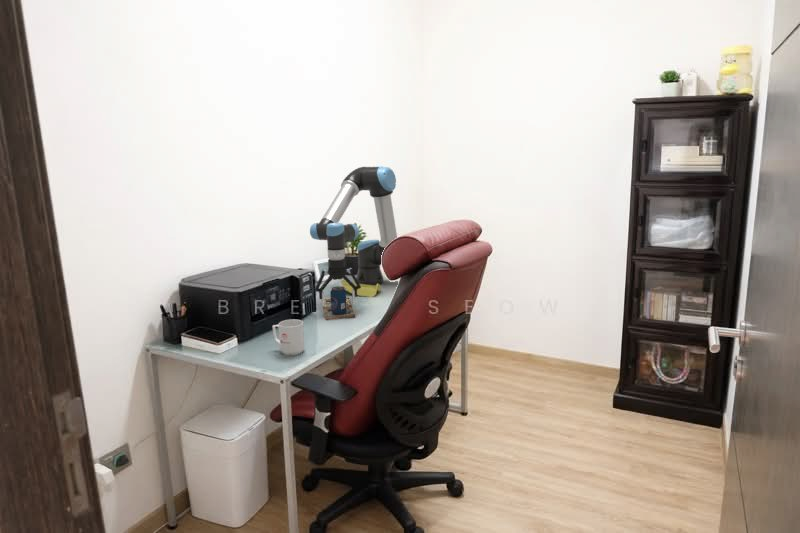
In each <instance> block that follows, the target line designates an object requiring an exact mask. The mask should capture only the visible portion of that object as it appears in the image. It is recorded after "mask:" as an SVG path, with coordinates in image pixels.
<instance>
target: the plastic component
mask: <svg viewBox="0 0 800 533" xmlns="http://www.w3.org/2000/svg"><path fill="white" fill-rule="evenodd" d="M340 281H341V282H340V283H341V285H342V287H344V289H345V291H346V293H350V294H352V289H353V288H352V287H351V286H350V285H349V284H348V282H347V281H346V280H344V279H343V278H342V279H340ZM352 283H353V284H354V285H355V286H357V285H356V283H355V282H352ZM360 286H361V288H360V289H357V296H360V297H366V296H367V297H368V298H374V297H375V296H376V295H377V293H380V292H381V287H382V284H377V285H365V284H360Z"/></svg>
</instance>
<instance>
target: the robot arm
mask: <svg viewBox="0 0 800 533" xmlns="http://www.w3.org/2000/svg"><path fill="white" fill-rule="evenodd" d="M395 174H396V173H395V172H394V170H393V169H392V168H390V167H388V166H360V167H357V168H356V169H354V170H352V171H351V172H349V173H348V175H347V176H345V177H344V178H343V180H342V182H341V183H340V189H339V191H338V192H337V194H336V195H335V196H334V199H332V200H333V201H332V202H331V203H330V205H329V207H328V208H327V210H326V212H325V213H324V215H323V216H322V218H321V220H320V221H319V222H316V223H313V224H311V226H310V228H309V234H310V237H311V238H312V239H313V240H320V241H327V242H326V243H327V266H328V269H327V270H326V269H321V273H320V276H319V278H318V281H317V282H316V285H315V287H314V291H315V292H318V294H319V300H321V303H322V305H321V306H322V307H324V299H325V294H324V292H325V291H324V290H325V289H326V287H327V286H328V285H329V284H330V282H331V281H332V280H335V281H336V280H341V279H342V280H344V281H346V282H348V284H349V285H350V286H351V287H352V288H353V289H352V293H351V294H352V296H351V297H352V306H353V305H354V306H355V305H356V299H355V298H357V296H358V295H357V289H360V288H361V286H360V284H365V285H374V286H376V285H377V284H379V285H382V284H383V283H385V282H384V276H383V272H382V270H381V266H382V265H381V255H382V252H383V250H384V248H385V247H386V246H387V245H388V244H389V243H390V242H391V241H392V240H394V239H395V238H397V237H398V234H397V228H396V227H397V226H396V220H395V214H394V209H393V203H392V195H393V193H394V190H395V189H396V186H397V184H396V183H397V179H396V175H395ZM361 191H368V192H369V195H370V197H371V198H373V203H374V207H375V213H376V219H377V223H378V224H377V225H378V229H379V236H380V240H379V239H368V240H363V241H360V242H359V243H358V244H357V259H358V270H357V273H356V276H355V274H354V270H353V268H352V267H349V268H346V259H345V258H346V247H345V243H348V242H352V241H354V240H356V239H357V238H358V237H359V235H360V230H359V227H358V226H357V224H354V223H347V224H344V223H341V222H340V220H341V219H342V217H343V215H345V212H346V211H347V209H348V208H349V206H350V204H351V202H352V201H353V199H354V197H355V196H358V194H360V192H361ZM347 273H348V274H349V275H351V278H352V279H353V281H354V282H352V281H351V280H350V279H349V278H348V277H347V276H346V274H347ZM327 274H328V275H329V276H328V277H327V279H326V280H325V281H324V282H323V280H324V278H325V276H327ZM322 282H323V283H322ZM353 283H356V285H357V286H355V285H354V284H353ZM321 284H322V285H321ZM320 286H321V287H320Z"/></svg>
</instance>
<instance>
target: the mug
mask: <svg viewBox="0 0 800 533" xmlns="http://www.w3.org/2000/svg"><path fill="white" fill-rule="evenodd" d="M276 327H277V328H278V337H279V338H278V337H277V330H276ZM271 328H272V332H273V334H272V335H273V339H274V342H276V343H277V344H278V345H279V350H280V352H281V353H282V355H285V356H297V355H300V354H302V353H303V351H304V350H305V348H306V347H305V336H304V335H305V331H304V321H303V320H300V319H295V318H293V319H285V320H281V321H280V322H278V324H273V325H272V327H271Z"/></svg>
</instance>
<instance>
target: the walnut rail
mask: <svg viewBox="0 0 800 533" xmlns="http://www.w3.org/2000/svg"><path fill="white" fill-rule="evenodd" d="M346 301H347V302H346V303H347V304H348V305H347V309H349V310H350V311H349V310H348V311H349V312H350V313H345V315H333V314H332V315H329V312H331V305H328V306H327V304H328V303H327V302H330V303H331V298H324V307H323V306H322V307H323V313H324V318H325V321H329V320H330V321H331V320H332V321H333V320H341V319H342V318H345V319H355V318H356V313H355V311H354V308H353V304H352V303H351V300H350V298H349V297H346Z"/></svg>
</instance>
